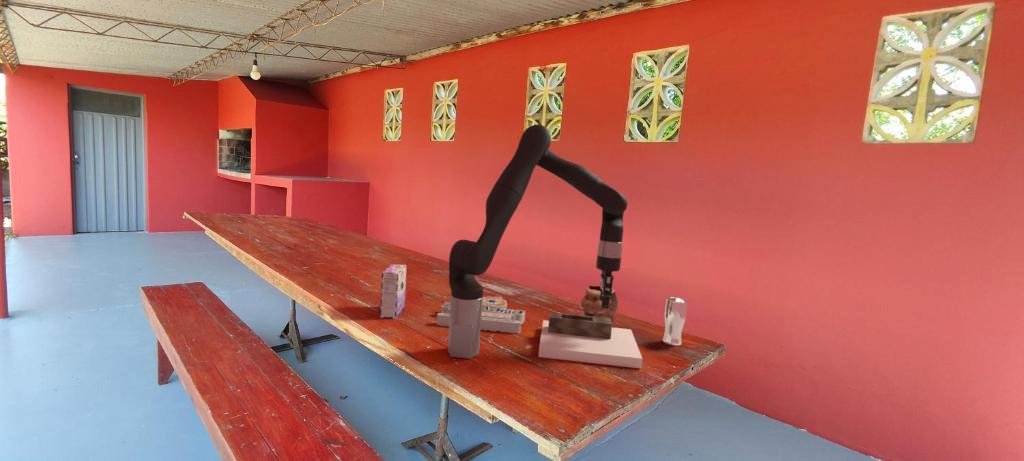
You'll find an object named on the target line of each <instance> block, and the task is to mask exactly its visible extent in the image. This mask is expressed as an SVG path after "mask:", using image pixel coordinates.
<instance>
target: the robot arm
mask: <svg viewBox="0 0 1024 461" xmlns="http://www.w3.org/2000/svg"><path fill="white" fill-rule="evenodd" d="M551 136H552V135H551V132H550V131H549V129H548V128H547V127H546V126H545V125H542V124H532V125H530V126H528V127H527V128H526V129H525V130H524V131H523V133H522V134H521V136H520V140H519V142H518V144H517V145H518V146H517V149H516V151H515V153H514V155H513V156H512V158H511V160H510V161H509V163H508V164H507V165H506V167H505V168H504V169H503V171H502V172H501V174H500V175H499V177H498V178H497V180H496V182H495V183H494V185H493V187H492V189H491V191H490V192H489V194H488V196H487V198H486V200H485V201H486V202H485V225H484V228H483V230H482V232H481V234H480V236H479V237H478V239H477V241H473V240H468V239H459V240H457V241H456V242H455V243H454V244H453V245H452V246H451V249H450V253H449V258H448V284H449V287H450V290H451V291H450V292H451V293H450V303H451V305H450V322H449V326H448V341H447V342H448V345H447V353H448V354H449V357H452V358H462V359H469V360H471V359H473V358H474V357H477V356H479V354H480V344H481V331H482V330H481V316H482V302H483V297H484V287H483V285H482V284H480V283H479V282H478V280H477V278H476V277H475V276H482V275H483V274H484V273H485V272H486V271H487V270H488V269H489V268H490V267H491V264H492V262H493V260H494V257H495V255H496V252H497V249H498V248H499V245H500V242H501V240H502V238H503V235H504V233H505V231H506V229H507V228H508V225H509V223H510V221H511V219H512V218H513V216H514V214H515V212H516V211H517V209H518V207H519V204H520V203H521V201H522V199H523V197H524V195H525V193H526V190H527V188H528V185H529V183H530V181H531V178H532V175H533V172H534V170H535V168H536V167H539V168H541V169H544V170H545V171H547V172H549V173H550V174H552V175H554V176H556V177H557V178H560V179H561V180H563V181H564V182H566V183H568V184H569V185H570V186H572V187H573V188H574V189H576V190H577V191H578V192H579V193H581V194H582V195H584V196H585V197H587V198H588V199H590V200H592V202H593V201H594V203H596V204H597V205H598V206H599V207H600V208H602V209H601V210H602V212H601V214H602V215H601V219H602V220H601V226H600V235H599V241H598V246H597V255H596V263H595V267H596V269H597V270H600V271H601V273H600V276H599V278H600V280H599V282H600V283H599V286H600V288H601V289H602V290H601V294H600V301H602V305H601V306H602V308H609V300H610V296H611V295H612V293H611V292H612V289H613V285H614V284H613V283H614V278H615V277H614V275H613V273H614V272H619V271H621V263H622V254H623V239H624V238H623V236H624V225H623V222H624V214H625V213H624V212H625V211H626V210H627V208H628V200H627V197H626V196H625V195H624V194H622V193H621V192H620V191H618V190H617V189H615V188H613V187H612V186H610V185H609V184H607V183H606V182H605V181H603V180H602V179H601V178H600V177H599V176H598V175H596V174H595V173H593V172H592V171H591V170H589V169H588V168H586V167H584V166H583V165H580V164H578V163H576V162H575V163H574V162H573V161H569V160H566V159H564V158H562V157H560V156H559V155H557V153H556V154H555V152H553V151H552V150H551V149H550V146H551V144H552V137H551ZM608 290H609V292H608Z"/></svg>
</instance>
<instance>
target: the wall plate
mask: <svg viewBox="0 0 1024 461" xmlns="http://www.w3.org/2000/svg"><path fill="white" fill-rule="evenodd" d="M548 327H549V320H542V327H541V332H540V333H541V334H540V341H539V346H538V347H539V348H538V358H545V359H553V360H561V361H562V360H563V361H570V362H571V361H572V362H580V363H590V364H591V363H592V364H596V365H597V364H598V365H605V366H607V365H608V366H615V367H623V368H624V367H625V368H634V369H642V364H643V357H642V353H641V351H640V348H639V347H638V343H637V342H636V341H637V340H636V338H635V336H634V334H633V331H632V329H630V328H629V329H628V328H620V327H612V331H611V339H604V338H595V337H586V336H576V335H567V334H558V333H549V332H548Z"/></svg>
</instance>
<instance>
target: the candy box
mask: <svg viewBox="0 0 1024 461" xmlns="http://www.w3.org/2000/svg"><path fill="white" fill-rule="evenodd" d="M406 279H407V265H406V264H396V263H392V264H390V265H389V266H388V267H387V268H385V269H384V270H382V272H381V287H380V289H381V290H380V308H379V309H380V311H379V313H380V314H379V318H381V319H388V320H389V319H393V320H396V319H397V318H398V317H399V316H400V314H401V313H402V312H403V310H404V309H405V307H406V306H405V305H406V289H407V288H406V286H407V284H406V282H407V280H406Z"/></svg>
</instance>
